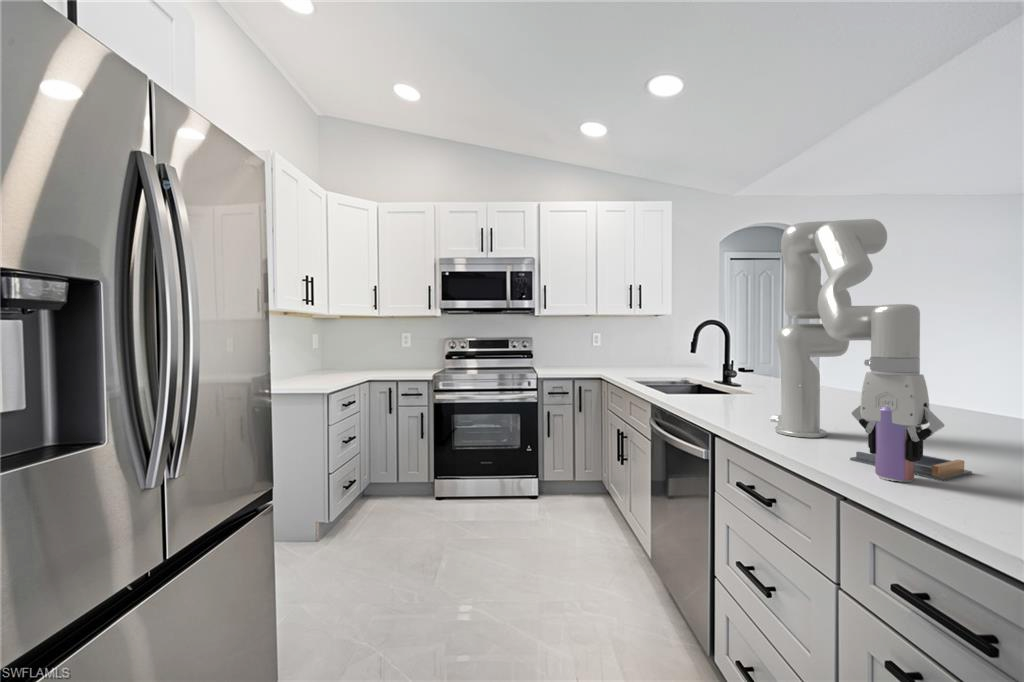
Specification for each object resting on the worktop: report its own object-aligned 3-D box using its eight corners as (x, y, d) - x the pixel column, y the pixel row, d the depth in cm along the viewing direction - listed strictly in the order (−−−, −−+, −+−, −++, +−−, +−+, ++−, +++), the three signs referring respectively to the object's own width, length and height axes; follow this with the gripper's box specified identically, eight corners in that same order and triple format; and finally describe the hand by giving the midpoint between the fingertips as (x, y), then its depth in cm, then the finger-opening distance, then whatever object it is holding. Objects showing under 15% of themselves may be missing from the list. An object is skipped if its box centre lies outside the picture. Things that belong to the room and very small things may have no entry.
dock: (850, 459, 107) (850, 449, 107) (878, 454, 111) (878, 443, 111) (943, 481, 91) (943, 468, 91) (971, 473, 96) (971, 461, 95)
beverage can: (887, 482, 90) (888, 406, 90) (868, 473, 96) (868, 401, 96) (921, 483, 90) (922, 406, 89) (900, 474, 96) (900, 401, 95)
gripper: (837, 364, 99) (837, 449, 99) (938, 370, 83) (938, 470, 83) (859, 363, 102) (859, 445, 102) (960, 368, 86) (959, 465, 87)
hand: (894, 455), depth 93 cm, fingers closed on beverage can, 5 cm apart
